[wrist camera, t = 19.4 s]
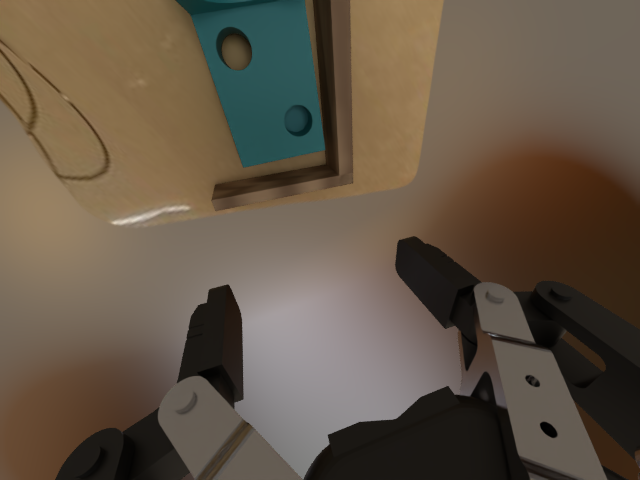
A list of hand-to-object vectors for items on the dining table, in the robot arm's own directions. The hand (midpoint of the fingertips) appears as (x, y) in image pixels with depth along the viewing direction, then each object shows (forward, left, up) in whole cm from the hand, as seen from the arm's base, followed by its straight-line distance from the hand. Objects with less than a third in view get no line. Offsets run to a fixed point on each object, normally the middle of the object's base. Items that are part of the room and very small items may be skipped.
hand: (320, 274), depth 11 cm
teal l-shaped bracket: (+2, +9, -28) cm, 30 cm away
